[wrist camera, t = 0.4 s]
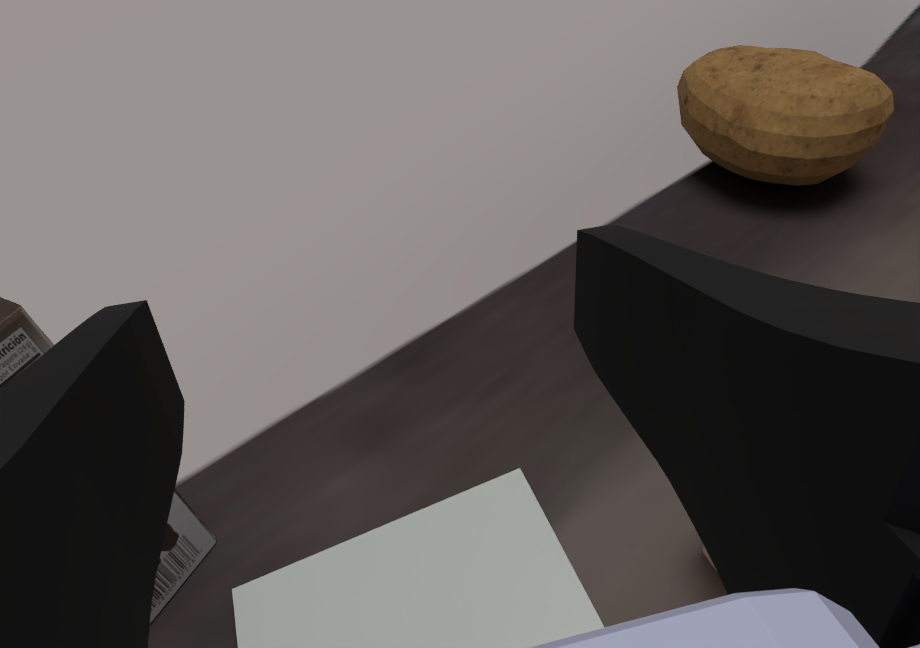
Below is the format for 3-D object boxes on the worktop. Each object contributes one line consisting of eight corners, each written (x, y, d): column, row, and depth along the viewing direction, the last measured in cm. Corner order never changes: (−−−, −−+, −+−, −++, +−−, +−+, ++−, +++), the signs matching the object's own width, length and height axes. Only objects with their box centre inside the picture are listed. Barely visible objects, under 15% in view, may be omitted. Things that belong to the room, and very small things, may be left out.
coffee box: (9, 580, 33) (-299, 364, 22) (109, 477, 37) (-111, 249, 26) (124, 663, 29) (-183, 449, 18) (224, 538, 33) (20, 297, 22)
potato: (724, 113, 53) (736, 11, 48) (901, 171, 44) (940, 53, 39) (639, 164, 50) (641, 61, 45) (811, 238, 41) (840, 120, 35)
